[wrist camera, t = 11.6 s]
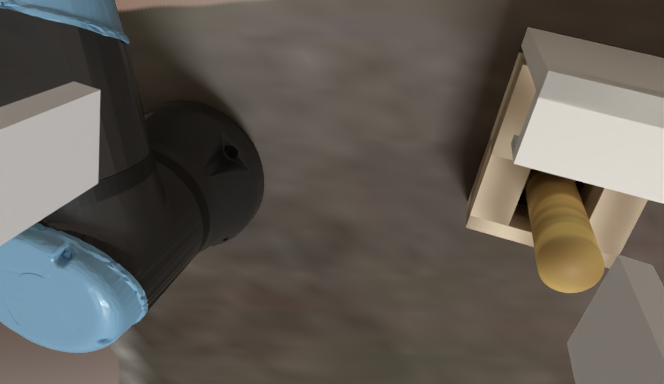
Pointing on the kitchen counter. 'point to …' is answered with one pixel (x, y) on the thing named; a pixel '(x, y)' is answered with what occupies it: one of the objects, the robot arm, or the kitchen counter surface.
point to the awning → (594, 114)
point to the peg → (562, 234)
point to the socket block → (509, 179)
